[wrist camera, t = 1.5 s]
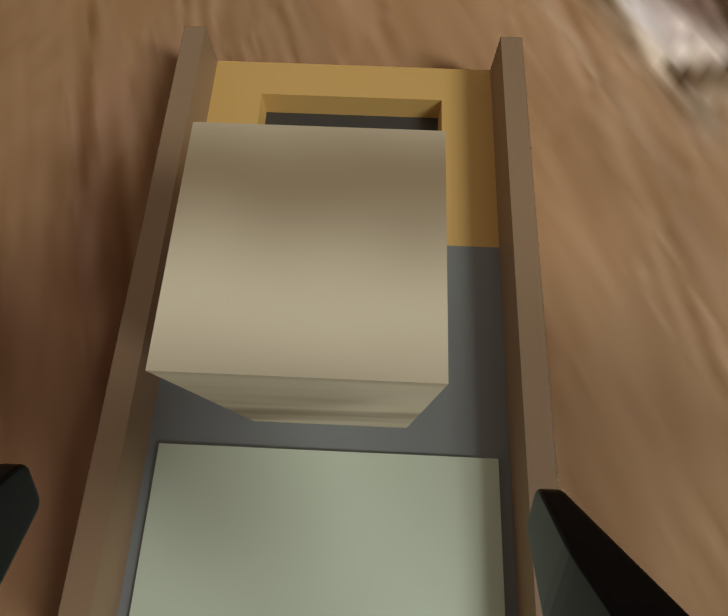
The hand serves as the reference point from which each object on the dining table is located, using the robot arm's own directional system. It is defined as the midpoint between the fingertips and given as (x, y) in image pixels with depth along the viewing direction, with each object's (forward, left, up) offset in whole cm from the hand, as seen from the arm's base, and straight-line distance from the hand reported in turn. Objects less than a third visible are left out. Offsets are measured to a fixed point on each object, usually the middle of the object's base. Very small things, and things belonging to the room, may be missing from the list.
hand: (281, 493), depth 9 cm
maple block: (+5, -1, -10) cm, 12 cm away
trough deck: (+6, -1, -12) cm, 14 cm away
